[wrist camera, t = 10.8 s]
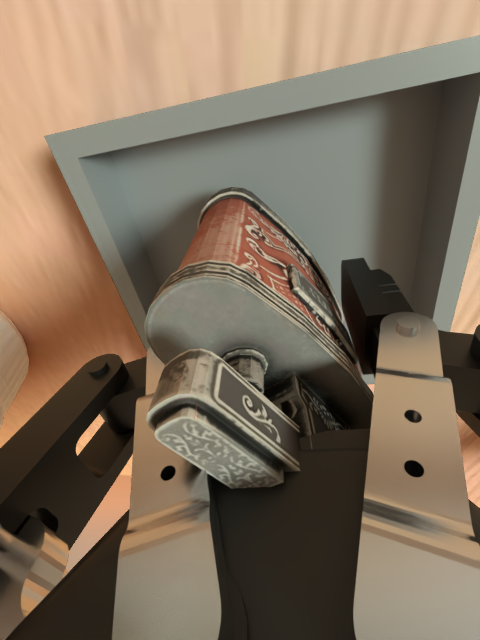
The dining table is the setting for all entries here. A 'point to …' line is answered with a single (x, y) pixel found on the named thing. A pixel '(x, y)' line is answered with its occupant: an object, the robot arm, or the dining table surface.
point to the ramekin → (11, 363)
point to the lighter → (250, 348)
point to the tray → (299, 174)
